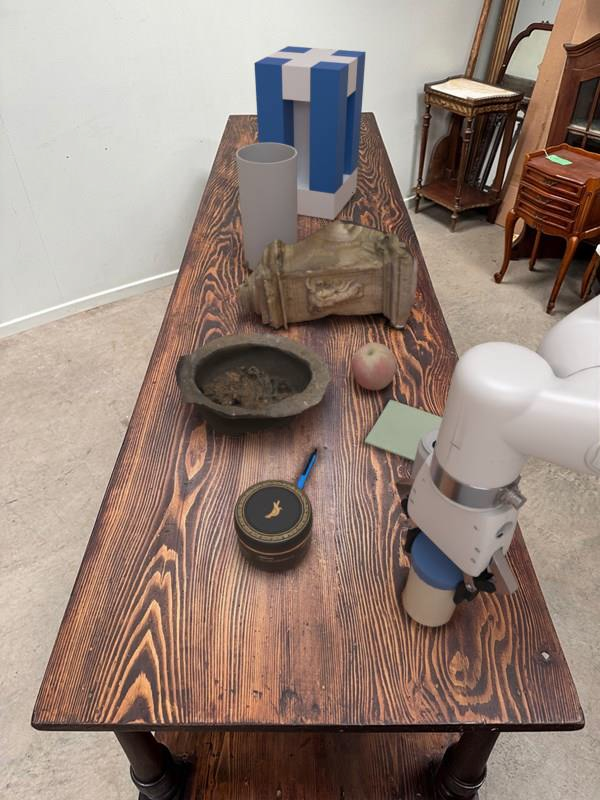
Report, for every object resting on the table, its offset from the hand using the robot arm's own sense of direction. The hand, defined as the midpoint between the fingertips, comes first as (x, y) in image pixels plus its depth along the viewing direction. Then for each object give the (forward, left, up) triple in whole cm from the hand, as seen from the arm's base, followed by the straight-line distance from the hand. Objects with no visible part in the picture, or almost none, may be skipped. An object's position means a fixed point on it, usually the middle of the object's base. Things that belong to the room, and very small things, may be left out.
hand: (438, 569), depth 61 cm
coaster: (+12, -26, -8) cm, 30 cm away
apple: (+22, -34, -8) cm, 41 cm away
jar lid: (0, 0, +3) cm, 3 cm away
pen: (+22, -6, -8) cm, 24 cm away
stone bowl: (+37, -20, -8) cm, 43 cm away
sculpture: (+40, -51, -8) cm, 65 cm away
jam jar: (0, 0, -8) cm, 8 cm away
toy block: (+69, -100, -8) cm, 122 cm away
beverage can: (+5, -15, -8) cm, 18 cm away
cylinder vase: (+60, -63, -8) cm, 87 cm away
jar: (+21, +2, -8) cm, 22 cm away
